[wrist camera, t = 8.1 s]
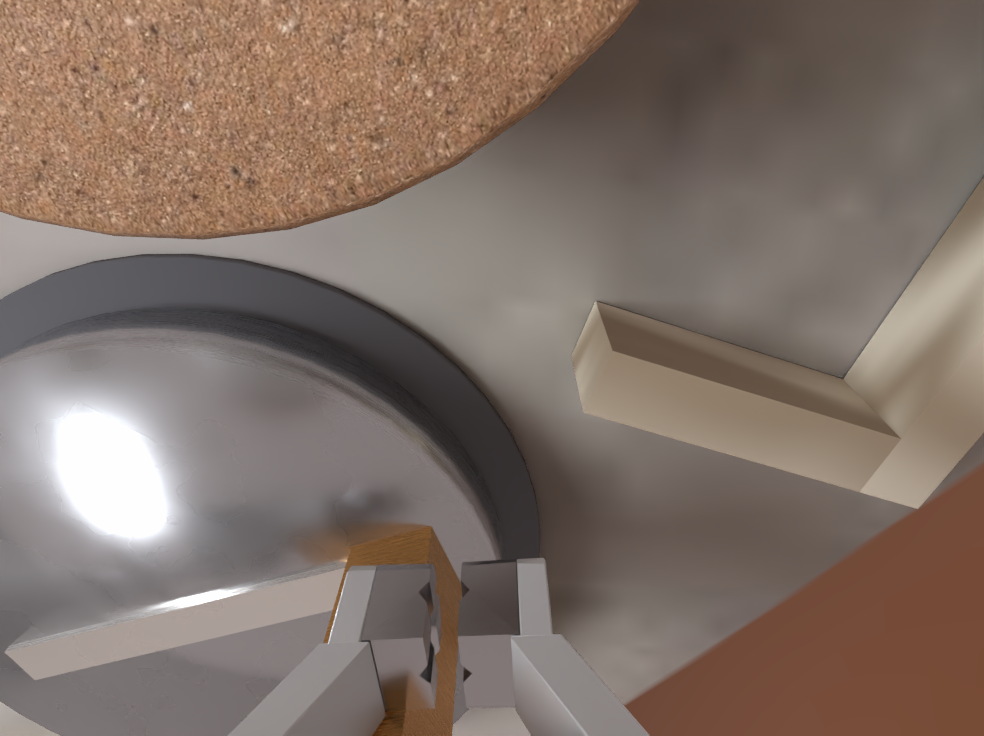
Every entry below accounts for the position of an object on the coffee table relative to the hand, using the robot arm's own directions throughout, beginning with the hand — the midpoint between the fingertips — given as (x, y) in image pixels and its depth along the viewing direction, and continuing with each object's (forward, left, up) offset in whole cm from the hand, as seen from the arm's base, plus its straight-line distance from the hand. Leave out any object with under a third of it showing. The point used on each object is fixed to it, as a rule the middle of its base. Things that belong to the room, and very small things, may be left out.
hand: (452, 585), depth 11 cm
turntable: (-6, +5, -5) cm, 9 cm away
